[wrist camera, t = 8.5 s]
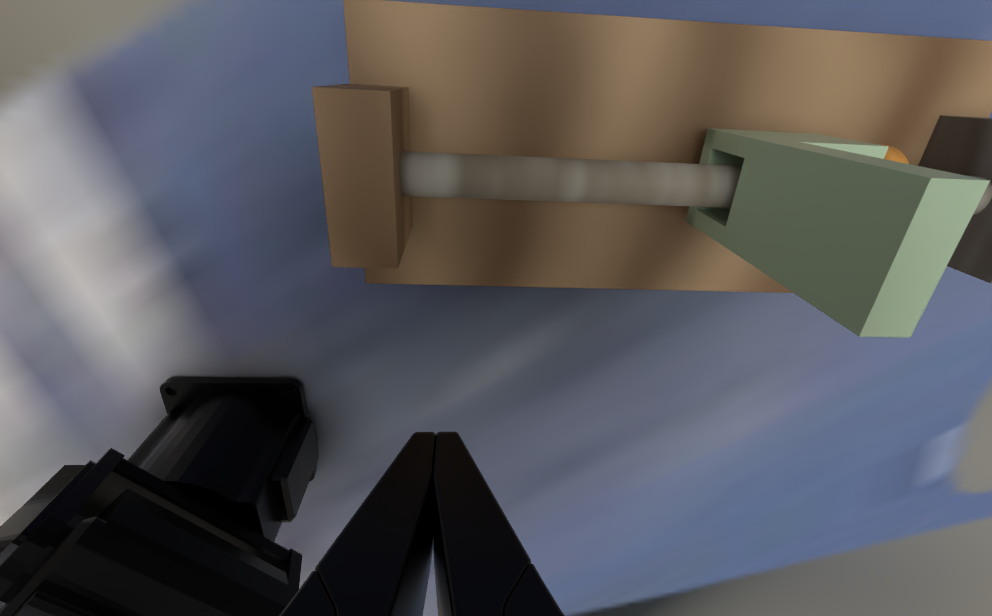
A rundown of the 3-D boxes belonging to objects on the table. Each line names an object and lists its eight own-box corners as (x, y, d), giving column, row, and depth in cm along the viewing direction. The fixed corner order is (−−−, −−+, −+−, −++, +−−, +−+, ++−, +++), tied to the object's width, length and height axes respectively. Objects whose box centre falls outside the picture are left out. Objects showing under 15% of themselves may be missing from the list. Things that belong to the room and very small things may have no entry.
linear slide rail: (372, 269, 21) (339, 337, 15) (353, 4, 16) (298, -30, 11) (877, 282, 23) (1005, 346, 17) (983, 45, 18) (1198, 33, 13)
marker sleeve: (685, 221, 18) (859, 336, 10) (707, 128, 17) (931, 178, 9) (783, 224, 19) (1026, 339, 11) (813, 133, 17) (1123, 186, 9)
